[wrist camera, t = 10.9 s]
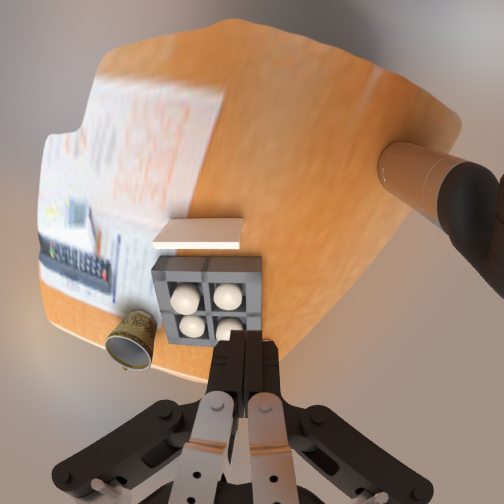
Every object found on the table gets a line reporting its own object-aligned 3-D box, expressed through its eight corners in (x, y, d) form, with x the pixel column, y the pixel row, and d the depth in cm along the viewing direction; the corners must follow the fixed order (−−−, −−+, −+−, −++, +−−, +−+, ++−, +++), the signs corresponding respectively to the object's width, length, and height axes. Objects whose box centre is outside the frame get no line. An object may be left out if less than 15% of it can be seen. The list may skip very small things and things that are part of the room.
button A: (242, 277, 46) (241, 288, 44) (242, 299, 48) (241, 310, 46) (214, 277, 46) (212, 287, 44) (217, 299, 48) (214, 309, 46)
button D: (205, 309, 50) (202, 319, 47) (207, 327, 52) (205, 338, 49) (181, 308, 50) (177, 318, 47) (184, 326, 52) (181, 336, 49)
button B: (242, 316, 48) (241, 327, 45) (243, 334, 50) (242, 345, 47) (216, 315, 48) (214, 326, 45) (219, 333, 50) (217, 345, 48)
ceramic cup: (125, 296, 52) (106, 328, 43) (169, 316, 54) (155, 350, 45) (118, 334, 58) (102, 364, 49) (155, 351, 59) (144, 383, 50)
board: (261, 257, 47) (261, 272, 43) (260, 330, 55) (260, 348, 50) (160, 256, 48) (150, 270, 43) (174, 327, 55) (169, 343, 51)
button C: (199, 282, 45) (195, 293, 42) (202, 304, 47) (199, 315, 44) (173, 281, 45) (168, 291, 42) (177, 303, 47) (172, 314, 45)
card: (242, 218, 44) (239, 242, 36) (243, 224, 44) (239, 250, 36) (170, 218, 44) (152, 242, 36) (171, 225, 45) (153, 249, 37)
